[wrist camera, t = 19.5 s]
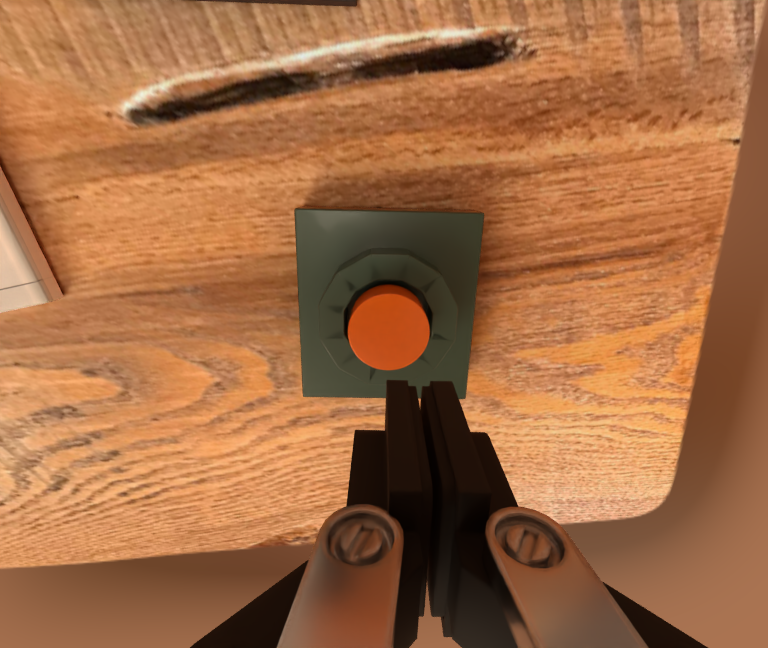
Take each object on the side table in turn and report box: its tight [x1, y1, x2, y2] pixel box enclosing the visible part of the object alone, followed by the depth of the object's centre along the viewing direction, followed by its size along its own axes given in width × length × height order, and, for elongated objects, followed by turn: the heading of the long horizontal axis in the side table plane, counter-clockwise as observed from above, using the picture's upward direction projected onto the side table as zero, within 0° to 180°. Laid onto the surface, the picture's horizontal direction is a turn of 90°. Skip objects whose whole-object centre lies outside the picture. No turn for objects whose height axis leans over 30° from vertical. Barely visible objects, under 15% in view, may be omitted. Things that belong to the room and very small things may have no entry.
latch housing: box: [294, 206, 484, 399], centre depth 21 cm, size 10×9×4 cm
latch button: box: [348, 284, 430, 370], centre depth 19 cm, size 4×4×2 cm
